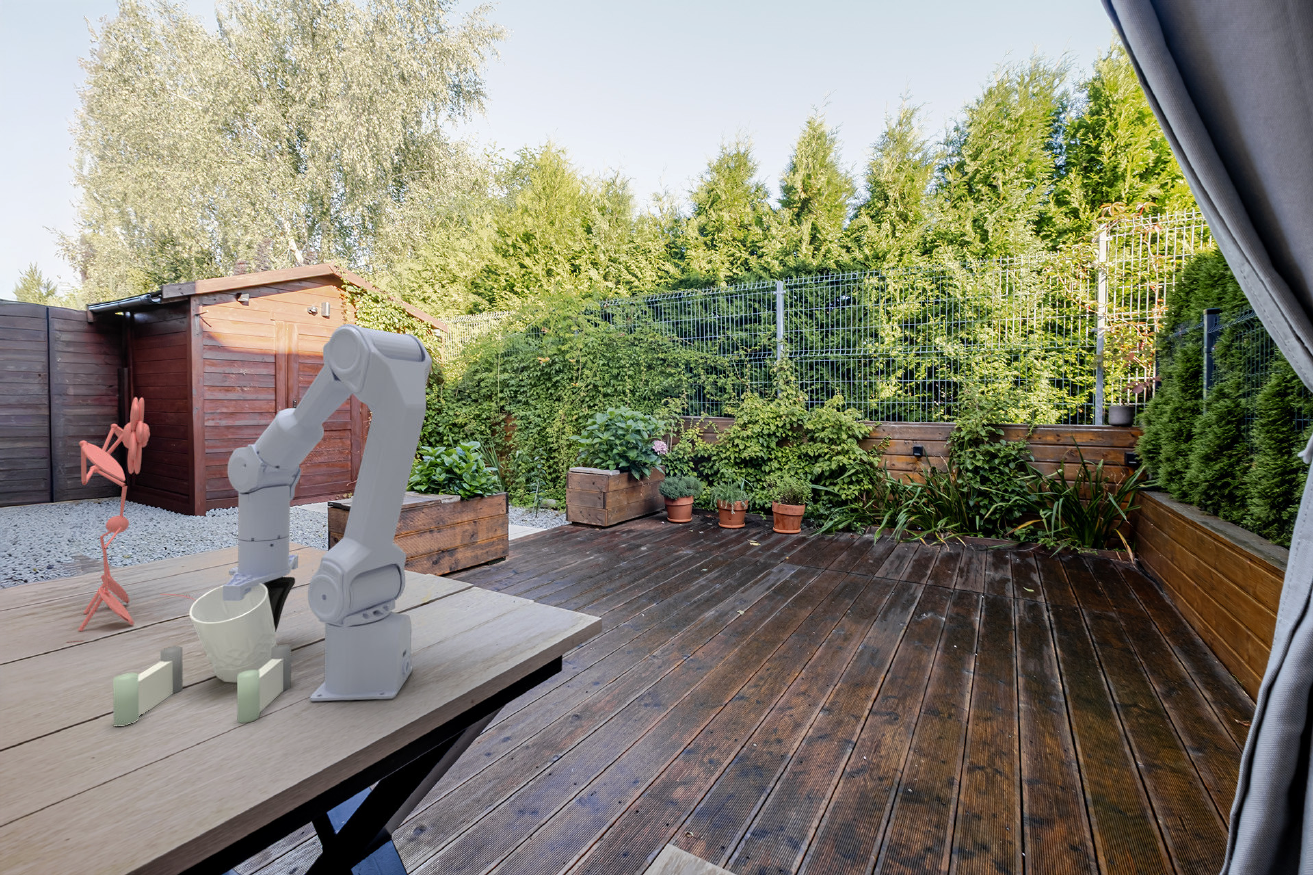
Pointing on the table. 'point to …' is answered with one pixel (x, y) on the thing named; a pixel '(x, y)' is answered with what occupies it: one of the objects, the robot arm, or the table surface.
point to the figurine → (134, 440)
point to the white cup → (235, 631)
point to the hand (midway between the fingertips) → (263, 635)
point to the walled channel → (167, 679)
